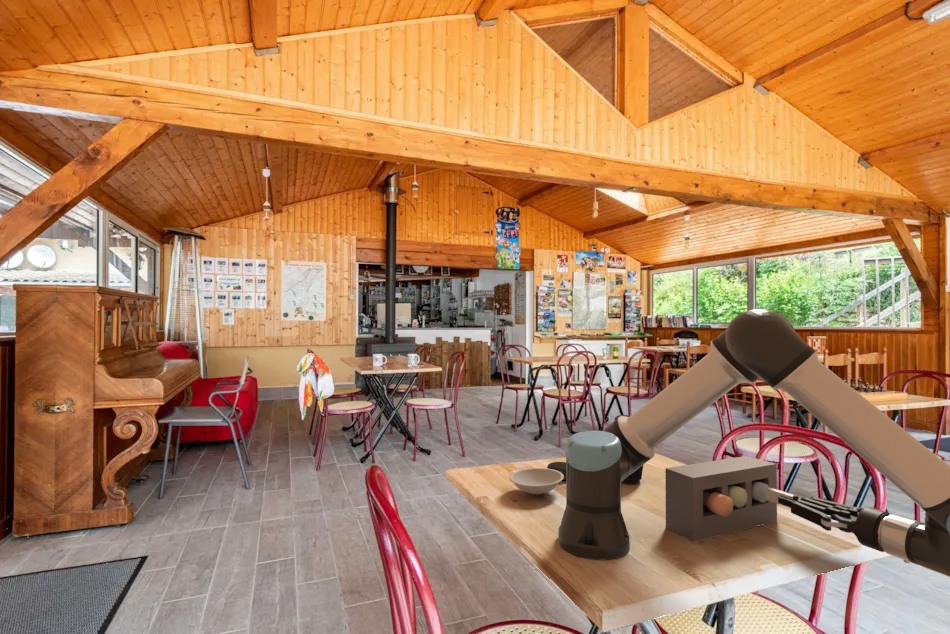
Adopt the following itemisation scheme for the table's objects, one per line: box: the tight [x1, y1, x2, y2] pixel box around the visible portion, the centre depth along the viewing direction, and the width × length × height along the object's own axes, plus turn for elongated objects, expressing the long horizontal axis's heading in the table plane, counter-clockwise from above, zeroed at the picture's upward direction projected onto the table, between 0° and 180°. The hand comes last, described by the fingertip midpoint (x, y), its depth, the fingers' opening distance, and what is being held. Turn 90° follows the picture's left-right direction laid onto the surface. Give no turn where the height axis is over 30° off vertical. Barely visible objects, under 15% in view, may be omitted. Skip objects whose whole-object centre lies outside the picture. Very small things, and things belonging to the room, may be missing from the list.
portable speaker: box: [614, 414, 644, 485], centre depth 149 cm, size 9×9×20 cm
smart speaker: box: [546, 461, 566, 480], centre depth 152 cm, size 9×9×4 cm
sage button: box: [715, 485, 747, 507], centre depth 114 cm, size 4×6×4 cm
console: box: [665, 455, 778, 542], centre depth 116 cm, size 28×8×14 cm, turn 114°
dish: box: [509, 467, 564, 495], centre depth 137 cm, size 18×14×5 cm
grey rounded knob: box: [738, 480, 769, 502], centre depth 117 cm, size 4×6×4 cm
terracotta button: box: [703, 492, 733, 517], centre depth 109 cm, size 4×6×4 cm
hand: (769, 493), depth 114 cm, fingers closed
